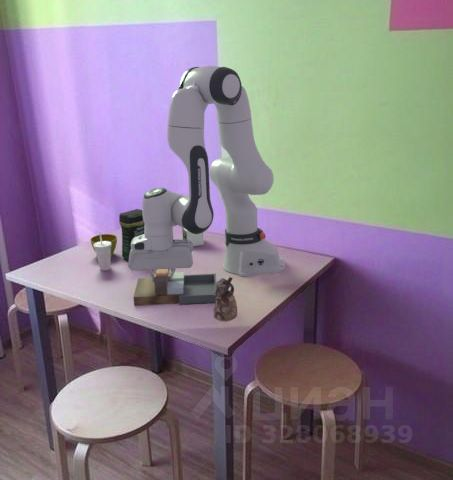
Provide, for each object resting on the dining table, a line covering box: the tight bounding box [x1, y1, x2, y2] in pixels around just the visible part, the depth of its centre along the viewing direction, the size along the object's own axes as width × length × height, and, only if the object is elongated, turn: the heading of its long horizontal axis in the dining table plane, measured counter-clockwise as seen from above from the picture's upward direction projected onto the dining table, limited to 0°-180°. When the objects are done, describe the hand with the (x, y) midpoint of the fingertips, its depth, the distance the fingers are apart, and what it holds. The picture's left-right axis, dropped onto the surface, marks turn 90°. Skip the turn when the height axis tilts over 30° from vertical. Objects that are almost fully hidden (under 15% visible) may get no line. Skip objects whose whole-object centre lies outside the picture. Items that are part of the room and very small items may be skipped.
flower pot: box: [90, 233, 118, 257], centre depth 202 cm, size 10×10×7 cm
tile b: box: [167, 281, 184, 295], centre depth 165 cm, size 5×5×2 cm
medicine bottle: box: [181, 227, 205, 247], centre depth 211 cm, size 7×7×12 cm
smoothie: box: [94, 231, 112, 272], centre depth 189 cm, size 6×6×14 cm
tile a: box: [168, 271, 185, 282], centre depth 172 cm, size 5×5×2 cm
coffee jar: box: [118, 208, 145, 261], centre depth 198 cm, size 10×8×19 cm
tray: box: [178, 273, 217, 306], centre depth 169 cm, size 12×16×3 cm
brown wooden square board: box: [132, 277, 180, 307], centre depth 169 cm, size 14×14×3 cm
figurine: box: [213, 276, 238, 322], centre depth 153 cm, size 7×7×12 cm
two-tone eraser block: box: [154, 269, 170, 295], centre depth 168 cm, size 4×14×5 cm, turn 3°
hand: (162, 280), depth 168 cm, fingers closed on two-tone eraser block, 3 cm apart
